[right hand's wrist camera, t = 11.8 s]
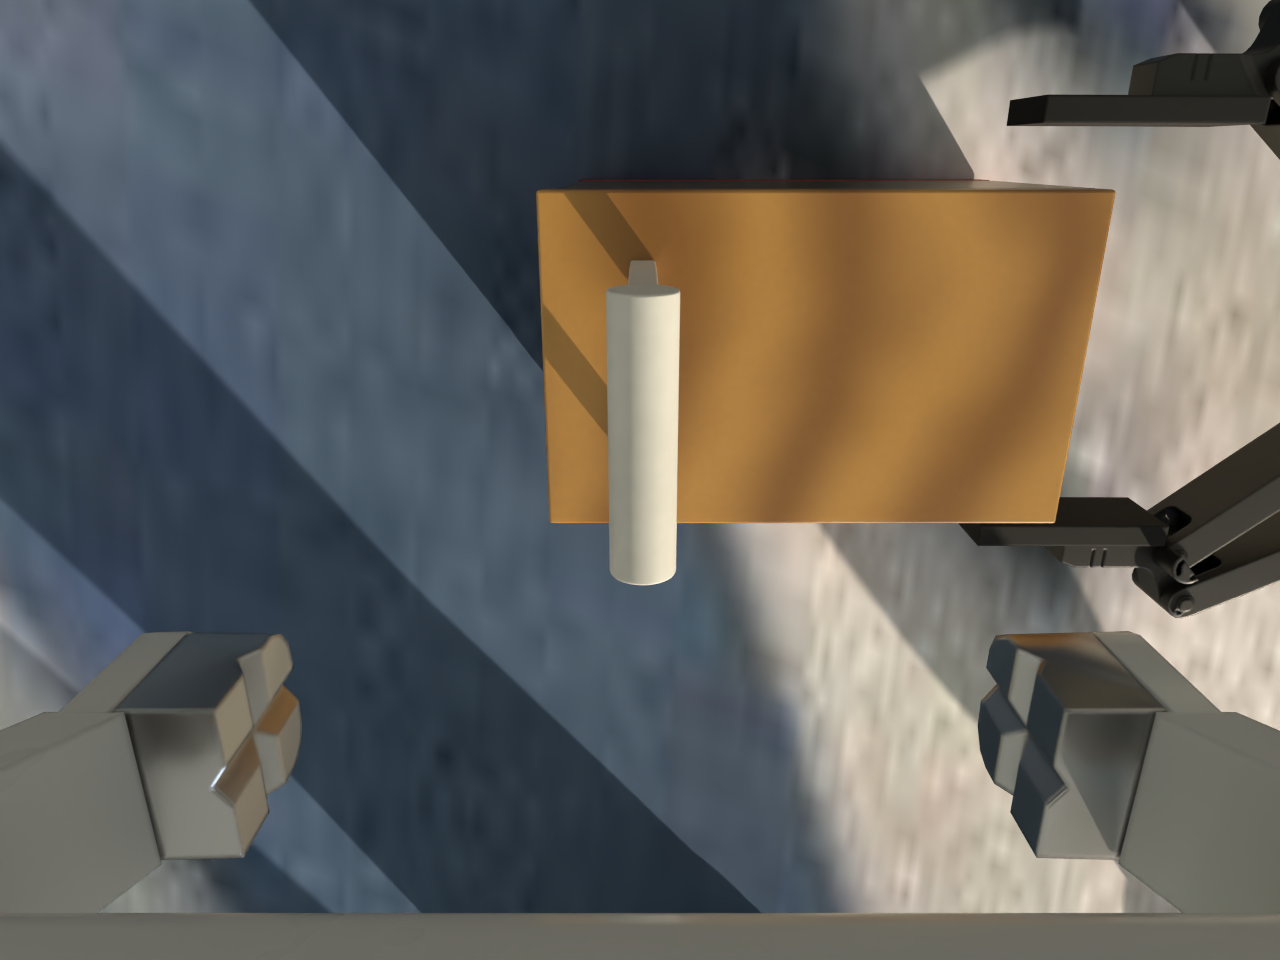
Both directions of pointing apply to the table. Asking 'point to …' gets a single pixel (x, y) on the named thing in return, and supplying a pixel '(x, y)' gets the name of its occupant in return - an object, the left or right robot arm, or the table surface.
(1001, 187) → the chest
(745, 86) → the table surface
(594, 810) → the table surface
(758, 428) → the lid
